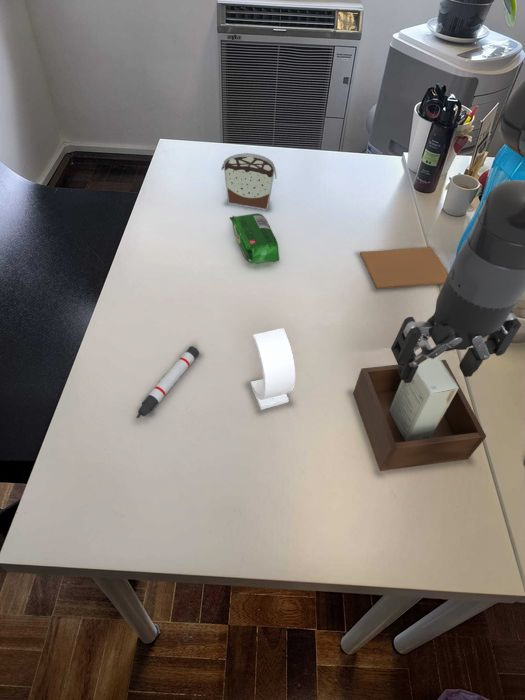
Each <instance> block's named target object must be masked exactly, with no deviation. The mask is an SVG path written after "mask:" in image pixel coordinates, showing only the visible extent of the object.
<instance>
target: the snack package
mask: <svg viewBox="0 0 525 700" xmlns="http://www.w3.org/2000/svg"><path fill="white" fill-rule="evenodd" d="M229 220H230V221H231V223H232V228H233V232H234V237H235V239H236V241H237V243H238V245H239V248H240V249H241V251H242V255H243V257H244V258H245V260H246V261H247V262H249V263H250V264H252V265H253V264H255V265H256V264H261V263H262V264H263V263H269V262H273V263H276V262H280V251H279V244H278V241H277V238H276V236H275V234H274V233H273V230H272V228H271V225H270V224H269V221H268V220H267V218H266V217H265V215H263V214H261V213H259V212H257V213H251V214H250V213H249V214H245V215H238V216H237V215H235V216H234V215H232V216H230V217H229Z"/></svg>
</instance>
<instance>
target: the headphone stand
mask: <svg viewBox="0 0 525 700" xmlns="http://www.w3.org/2000/svg"><path fill="white" fill-rule="evenodd" d="M252 336H253V337H252V339H253V341H254V344H255V347H256V350H257V353H258V357H259V361H260V366H261V371H262V378H261V379H256V380H253V381H250V386H251V389H252V392H253V394H254V396H255V398H256V399H255V400H256V401H257V404H258V406H259V408H260V410H261V411H262V410H266V409H269V408H272V407H277V406H280V405H284V404H288V403H289V401H290V399H289V397H288V395H287V394H290V393H293V391H294V389H295V384H296V368H295V360H294V356H293V351H292V347H291V344H290V340H289V338H288V335H287V333H286V330H285V328H284V327H282V328H277V329H272V330H268V331H264V332H259V333H254V334H252Z"/></svg>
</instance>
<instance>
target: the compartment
mask: <svg viewBox="0 0 525 700" xmlns="http://www.w3.org/2000/svg"><path fill="white" fill-rule="evenodd" d="M440 360H441V362H442V363H443V364H444V366H445V367H446V369H447V370H448V372H449V373H450V375H451V376H452V378H453V379H454V381H455V383H456V384H457V386H458V388H459V389H458V390H457V392H456V394H455V396H454V397H453V399H452V401H451V403H450V404H449V406H448V408H447V410H446V412H445V413H444V415H443V417H442V418H441V420H440V422H439V424H438V426H437V427H436V429H435V431H434V433H433V434H432V436H431V437H430V438H426V439H421V440H413V441H405V440H404V438H403V436H402V434H401V433H400V431H399V429H398V427H397V425H396V423H395V421H394V419H393V417H392V415H391V413H390V411H389V409H390V407H391V405H392V402H393V400H394V397H395V395H396V392H397V390H398V388H399V385H400V383H401V377H400V375H399V373H398V367H399V365H398V364H391V365H389V364H388V365H381V366H370V367H362V368H360V370H359V371H360V372H359V374H358V378H357V379H356V383H355V387H354V389H353V393H352V395H353V399H354V401H355V404H356V406H357V409H358V412H359V414H360V418H361V421H362V424H363V426H364V430H365V432H366V436H367V439H368V441H369V444H370V448H371V450H372V452H373V455H374V458H375V461H376V464H377V467H378V470H379V471H380V472H382V471H391V470H398V469H406V468H413V467H421V466H427V465H435V464H443V463H450V462H458V461H467V460H469V459H470V458H471V456H472V455H473V454H474V452H476V450H477V449H478V448H479V446H480V445H481V444H482V443H483V442H484V440H485V439H486V438H487V435H486V433H485V431H484V429H483V427H482V426H481V423H480V421H479V420H478V418H477V416H476V413H474V410H473V408H472V407H471V404H470V403H469V401H468V399H467V397H466V395H465V393H464V391H463V389H462V388H461V385H460V384H459V382H458V381H457V379H456V376H455V375H454V373H453V370H452V369H451V367H450V365H449V363H448V362H447V360H446V359H440Z"/></svg>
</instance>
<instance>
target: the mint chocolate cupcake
mask: <svg viewBox="0 0 525 700" xmlns="http://www.w3.org/2000/svg"><path fill="white" fill-rule="evenodd" d="M221 171H223V172H224V180H225V188H226V196H227V203H228V205H234V206H241V207H246V208H251V209H259V210H263V211H268V209H269V205H270V204H269V203H270V198H271V193H272V187H273V183H274V180H277V169H276V166H275V163H274V161H272V160H271V159H270V158H268V157H266V156H264V155H261V154H258V153H257V154H256V153H251V152H250V153H249V152H244V153H243V152H242V153H237V154H232V155H230V156H229V157H227V158H225V159H224V160H223V163H222V166H221Z"/></svg>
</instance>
